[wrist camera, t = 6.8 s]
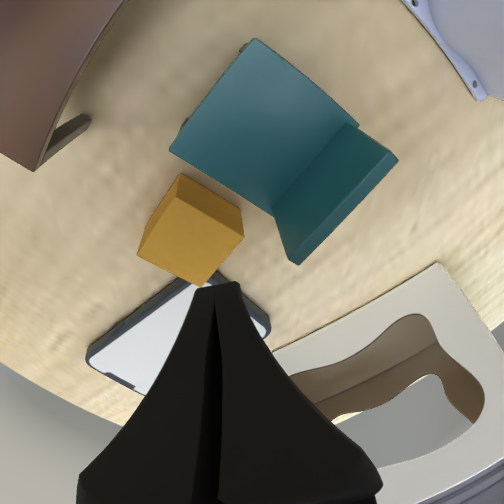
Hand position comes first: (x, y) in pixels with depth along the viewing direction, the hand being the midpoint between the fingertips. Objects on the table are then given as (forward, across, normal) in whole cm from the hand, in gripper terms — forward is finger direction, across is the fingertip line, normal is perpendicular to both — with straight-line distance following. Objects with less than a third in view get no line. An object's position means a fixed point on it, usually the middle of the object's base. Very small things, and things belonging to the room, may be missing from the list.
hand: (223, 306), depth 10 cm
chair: (+10, -3, -4) cm, 11 cm away
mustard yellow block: (+10, +2, +2) cm, 11 cm away
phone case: (+11, +7, +13) cm, 18 cm away
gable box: (+11, -10, +21) cm, 25 cm away
